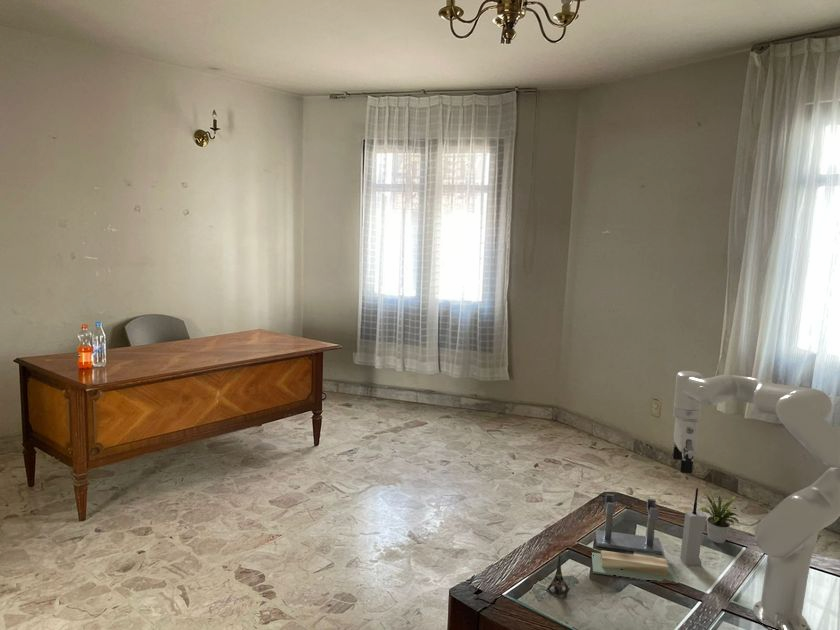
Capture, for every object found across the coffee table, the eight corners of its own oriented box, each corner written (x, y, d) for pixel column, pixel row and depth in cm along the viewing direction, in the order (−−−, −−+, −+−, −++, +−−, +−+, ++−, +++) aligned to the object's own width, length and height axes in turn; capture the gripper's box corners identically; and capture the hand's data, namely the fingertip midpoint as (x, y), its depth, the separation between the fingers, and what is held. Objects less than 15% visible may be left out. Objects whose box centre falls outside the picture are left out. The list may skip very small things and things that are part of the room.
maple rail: (667, 575, 179) (668, 566, 178) (601, 566, 183) (602, 557, 182) (665, 567, 182) (666, 559, 182) (600, 558, 186) (601, 550, 186)
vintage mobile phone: (701, 566, 185) (710, 491, 180) (685, 565, 185) (693, 491, 180) (695, 559, 188) (704, 485, 183) (680, 558, 188) (688, 485, 183)
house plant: (692, 546, 195) (697, 500, 192) (686, 524, 208) (691, 481, 205) (740, 554, 191) (746, 507, 188) (732, 532, 204) (737, 487, 201)
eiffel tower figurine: (575, 576, 179) (578, 536, 177) (589, 598, 169) (592, 556, 167) (526, 580, 177) (529, 539, 174) (538, 603, 167) (541, 560, 165)
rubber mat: (678, 585, 175) (678, 583, 175) (593, 572, 180) (593, 571, 180) (671, 565, 185) (672, 563, 185) (591, 554, 190) (591, 552, 190)
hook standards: (662, 555, 190) (666, 511, 187) (597, 546, 194) (600, 503, 191) (658, 541, 198) (662, 499, 195) (595, 533, 202) (598, 492, 199)
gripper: (708, 423, 171) (702, 479, 174) (692, 404, 187) (688, 455, 190) (680, 421, 172) (675, 477, 175) (667, 402, 189) (663, 453, 192)
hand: (682, 465), depth 183 cm, fingers open, 9 cm apart
